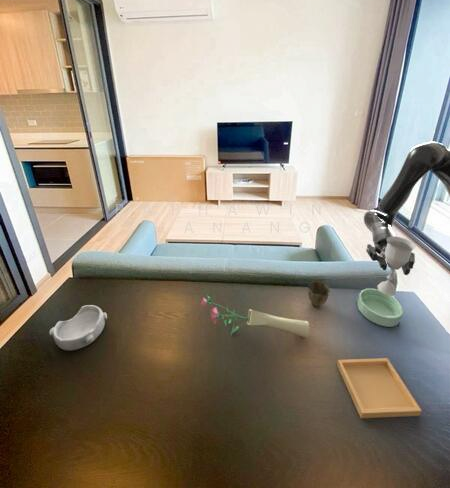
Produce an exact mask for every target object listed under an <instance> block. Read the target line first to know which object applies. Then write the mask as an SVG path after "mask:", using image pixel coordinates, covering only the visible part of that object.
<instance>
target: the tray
mask: <svg viewBox="0 0 450 488" xmlns="http://www.w3.org/2000/svg"><path fill="white" fill-rule="evenodd" d="M336 365H337V368H338V371H339V373H340V375H341V377H342V380H343V381H344V384H345V386H346V388H347V391H348V393H349V395H350V397H351V400H352V402H353V404H354V406H355V408H356V411H357V413H358V415H359V418H360V419H371V418H372V419H377V418H399V417H420V415H421V413H422V412H423V411H422V409H421V408H420V406H419V405H418V403H417V401H416V400H415V398H414V397H413V395H412V394H411V392H410V390H409V389H408V388H407V386H406V385H405V382H404V381H403V380H402V378H401V376H400V375H399V374H398V372H397V371H396V369H395V367H394V366H393V364H392V363H391V361H390V359H389V358H388V357H386V358H384V357H383V358H379V357H378V358H354V359H353V358H352V359H351V358H350V359H338V360H337V362H336Z"/></svg>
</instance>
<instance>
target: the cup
mask: <svg viewBox="0 0 450 488" xmlns="http://www.w3.org/2000/svg"><path fill="white" fill-rule="evenodd" d="M330 293H331V290H330V286H328V284H327V283H324V284H323V283H322V281H321V280H317V279H315V280H314V281H313V280H311V282H310V281H309V282H308V285H307V296H308V299H309V301H310V303H311V305H312V306H313V307H314V308H320V307H321V306H323V305H324V304H326V303H327V300H328V298H329V295H330Z"/></svg>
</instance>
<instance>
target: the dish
mask: <svg viewBox="0 0 450 488" xmlns="http://www.w3.org/2000/svg"><path fill="white" fill-rule="evenodd" d="M107 319H108V313H107V312H103V310H102V309H101V308H100V307H99V306H97V305H94V304H87V305H83V306H81V307H80V309H79V310H78V312H77V313H76V314H75V315H74V316H73V317H72V318H70V319H68V320H59V321H57V322H56V324H55V326H53V327H52V328H50V330H49V336H50V337H53V340H54V342H55V345H56V346H58V348H59V349H60V350H64V351H75V350H79V349H82V348H84V347H86V346H88V345H90V344H92V343H93V342H94V341H95V340H96V339H98V337H99V336H100V335H101V334H102V331H103V330H104V328H105V324H106V320H107Z"/></svg>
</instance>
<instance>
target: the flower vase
mask: <svg viewBox="0 0 450 488" xmlns="http://www.w3.org/2000/svg"><path fill="white" fill-rule="evenodd" d="M206 297H207V298H205V297H203V298H202V299H201V302H200V305H201V306H202V307H207V304H208V305H216V306H215V307H213V308H212V309H211V311H210V319H211V322H212V323H213V324H214V325H215V324H216V323H217V321H220V319H219V317H220V316H221V317H222V319H224V318H225V317H226V318H227V319H224V321H223V323H224V325H225V326H227V324H231V323H232V322H234V323H233V324H232V329H231V332H230V336H232V335H233V334H234V333H235V332H236V331H237V330H238V329H239V328H240V327H243V325H245V324H247V325H248V326H257V327H262V328H270V329H274V330H279V331H281V332H285V333H290V334H293V335H295V336H298V337H301V338H304V339H307V338H309V336H310V330H311V329H310V323H309V321H308V320H300V319H295V318H294V319H292V318H286V317H281V316H275V315H273V314H269V313H265V312H261V311H258V310H255V309H251V308H248V313H247V317H246V316H242V315H238V314H237V313H235V311H231V310H229V306H226V307H224V306H222V305H220V304H218V303H215V302H214V301H213V300H212V298H211V297H210V296H209V295H208V293H207V292H206ZM217 306H218V307H219V308H222V309H224V310H226V312H227V313H230V314H223V313H221V314H220V312H219V310H218V308H217ZM234 318H235V319H234ZM238 319H247V320H246V321H245V322H244V323H243V325H242V324H240V325H237V326H235V323H236V322H235V321H236V320H238ZM227 321H228V322H227Z"/></svg>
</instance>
